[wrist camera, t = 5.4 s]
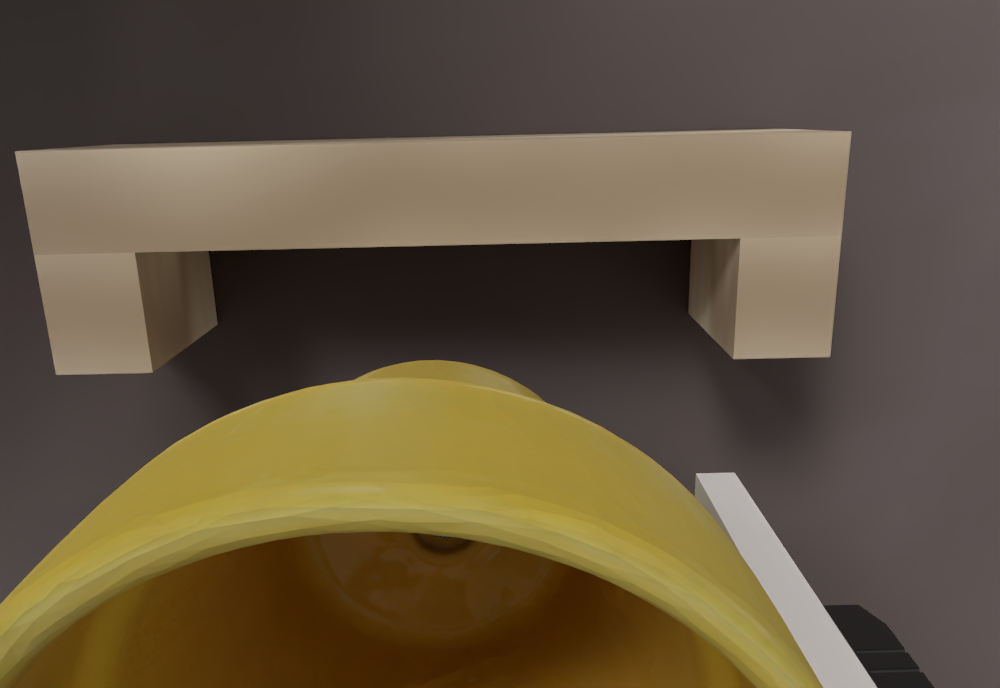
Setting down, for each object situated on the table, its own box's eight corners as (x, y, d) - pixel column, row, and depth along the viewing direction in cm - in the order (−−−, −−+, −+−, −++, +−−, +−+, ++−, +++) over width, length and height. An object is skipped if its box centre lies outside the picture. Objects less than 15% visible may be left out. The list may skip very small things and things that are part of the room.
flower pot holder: (111, 144, 19) (14, 151, 15) (780, 128, 19) (851, 131, 15) (196, 703, 23) (137, 819, 20) (739, 691, 23) (787, 804, 20)
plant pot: (743, 332, 16) (1077, 635, 7) (602, 729, 19) (708, 1318, 10) (243, 210, 16) (-127, 370, 6) (174, 644, 18) (-150, 1201, 9)
